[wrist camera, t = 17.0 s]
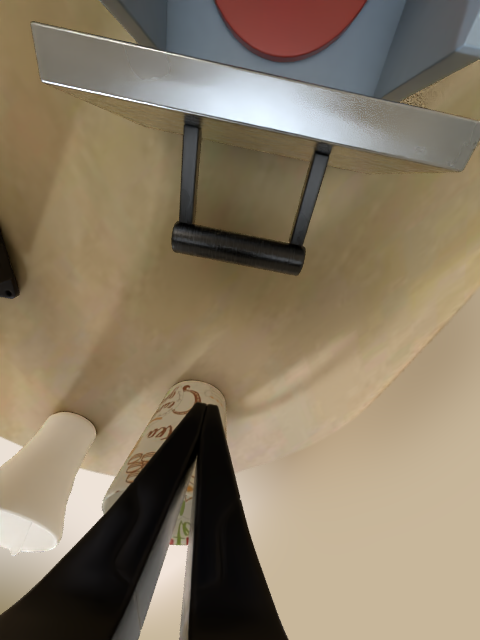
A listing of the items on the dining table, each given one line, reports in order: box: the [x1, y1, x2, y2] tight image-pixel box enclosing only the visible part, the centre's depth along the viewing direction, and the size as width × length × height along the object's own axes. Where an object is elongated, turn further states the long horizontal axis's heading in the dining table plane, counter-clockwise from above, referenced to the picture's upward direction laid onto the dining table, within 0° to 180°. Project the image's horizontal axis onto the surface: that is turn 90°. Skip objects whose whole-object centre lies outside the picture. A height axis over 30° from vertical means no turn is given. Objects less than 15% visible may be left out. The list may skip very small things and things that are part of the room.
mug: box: [102, 380, 226, 545], centre depth 22 cm, size 8×13×10 cm, turn 9°
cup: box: [0, 412, 96, 556], centre depth 24 cm, size 9×9×10 cm
